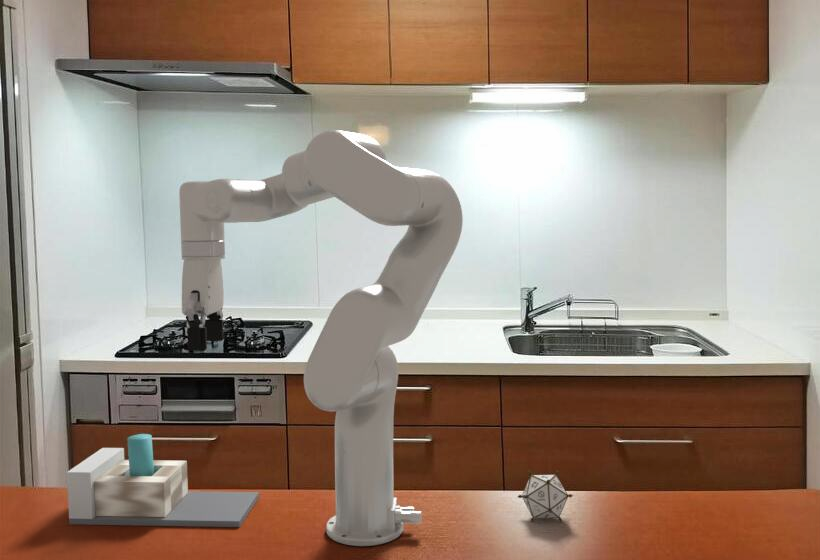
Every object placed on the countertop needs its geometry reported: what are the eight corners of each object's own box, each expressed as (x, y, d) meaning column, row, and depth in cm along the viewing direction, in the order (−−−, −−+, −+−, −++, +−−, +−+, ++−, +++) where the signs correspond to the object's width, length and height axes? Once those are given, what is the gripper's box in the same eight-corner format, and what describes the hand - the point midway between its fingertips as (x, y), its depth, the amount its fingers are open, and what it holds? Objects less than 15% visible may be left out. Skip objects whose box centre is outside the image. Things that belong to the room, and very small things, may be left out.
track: (259, 497, 137) (258, 449, 136) (239, 527, 124) (238, 474, 123) (104, 495, 139) (102, 447, 138) (69, 524, 126) (66, 472, 125)
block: (187, 492, 137) (186, 460, 136) (165, 516, 126) (164, 482, 125) (123, 491, 137) (122, 459, 137) (95, 515, 126) (94, 481, 126)
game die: (549, 535, 129) (575, 483, 132) (560, 538, 121) (587, 483, 123) (503, 508, 130) (530, 457, 133) (511, 509, 122) (540, 455, 124)
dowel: (159, 499, 134) (155, 433, 133) (150, 508, 130) (146, 440, 129) (137, 499, 134) (132, 434, 133) (128, 508, 130) (123, 441, 129)
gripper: (198, 248, 143) (201, 337, 144) (164, 253, 126) (168, 354, 127) (237, 248, 142) (239, 337, 144) (208, 253, 125) (212, 354, 127)
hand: (206, 345), depth 135 cm, fingers open, 9 cm apart
